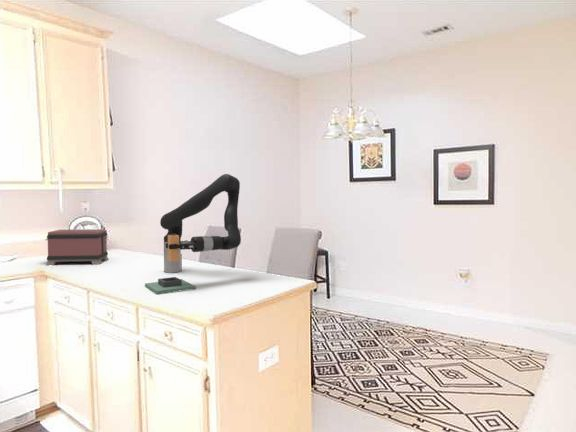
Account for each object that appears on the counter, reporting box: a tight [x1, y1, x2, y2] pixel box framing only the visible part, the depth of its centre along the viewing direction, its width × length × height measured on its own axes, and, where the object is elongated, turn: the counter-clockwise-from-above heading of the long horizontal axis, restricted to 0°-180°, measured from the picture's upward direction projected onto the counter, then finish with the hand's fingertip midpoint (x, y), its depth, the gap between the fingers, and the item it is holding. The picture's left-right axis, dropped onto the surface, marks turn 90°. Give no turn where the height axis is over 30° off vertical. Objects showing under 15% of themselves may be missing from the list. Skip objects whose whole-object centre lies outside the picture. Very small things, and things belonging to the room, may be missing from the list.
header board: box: [144, 276, 196, 295], centre depth 189 cm, size 18×18×4 cm
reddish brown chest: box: [45, 228, 110, 266], centre depth 255 cm, size 19×34×21 cm, turn 98°
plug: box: [168, 234, 179, 262], centre depth 189 cm, size 4×4×13 cm
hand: (167, 246), depth 187 cm, fingers closed on plug, 4 cm apart
